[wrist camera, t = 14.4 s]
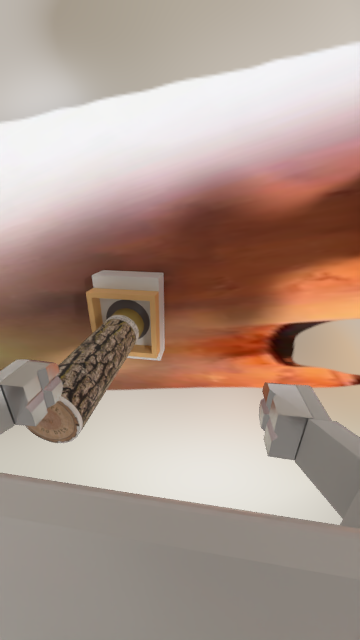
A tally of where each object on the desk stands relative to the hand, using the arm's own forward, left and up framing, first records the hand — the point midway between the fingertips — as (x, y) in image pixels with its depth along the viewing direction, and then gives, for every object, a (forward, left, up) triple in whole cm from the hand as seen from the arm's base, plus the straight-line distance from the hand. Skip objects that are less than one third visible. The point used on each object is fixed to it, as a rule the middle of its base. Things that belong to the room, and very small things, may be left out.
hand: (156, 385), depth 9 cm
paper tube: (+14, +13, -34) cm, 39 cm away
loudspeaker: (+14, +13, -39) cm, 43 cm away
